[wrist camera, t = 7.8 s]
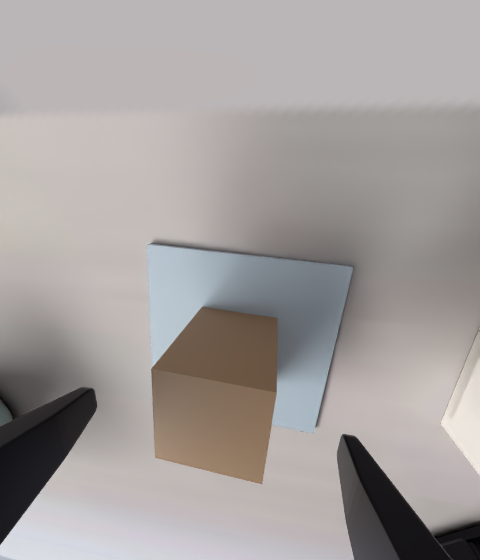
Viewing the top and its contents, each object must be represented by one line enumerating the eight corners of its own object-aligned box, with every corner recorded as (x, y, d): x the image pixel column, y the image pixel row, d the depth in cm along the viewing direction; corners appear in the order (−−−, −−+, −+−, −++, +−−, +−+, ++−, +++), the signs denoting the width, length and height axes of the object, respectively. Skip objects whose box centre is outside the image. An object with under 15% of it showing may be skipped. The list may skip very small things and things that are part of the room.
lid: (348, 264, 11) (419, 315, 5) (311, 421, 14) (333, 558, 8) (155, 242, 12) (53, 266, 7) (159, 390, 15) (92, 491, 10)
